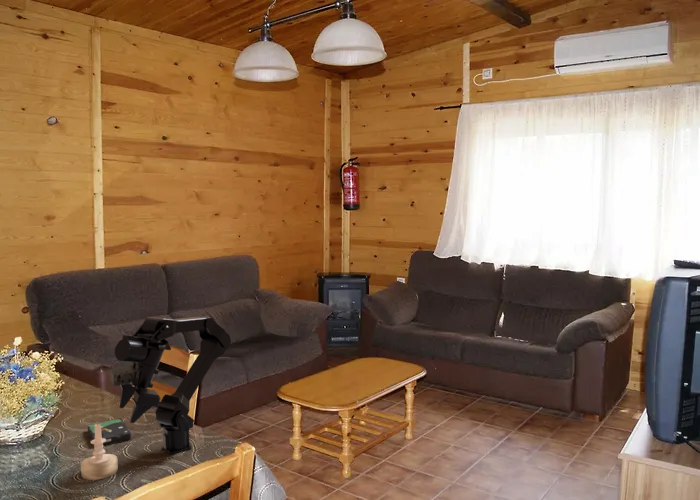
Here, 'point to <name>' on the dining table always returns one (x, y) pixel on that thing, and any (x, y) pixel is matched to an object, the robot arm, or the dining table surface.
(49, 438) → the dining table surface
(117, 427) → the disk drive
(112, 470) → the stand
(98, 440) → the candle
